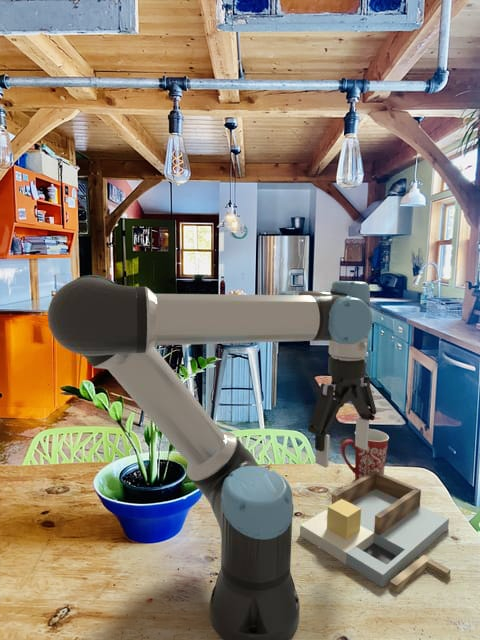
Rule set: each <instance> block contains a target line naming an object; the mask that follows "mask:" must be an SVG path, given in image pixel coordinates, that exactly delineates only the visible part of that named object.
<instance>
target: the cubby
mask: <svg viewBox="0 0 480 640" xmlns="http://www.w3.org/2000/svg"><path fill="white" fill-rule="evenodd" d="M374 489H377V490H380V491H382V492H384V493H386V494H389V495H391V496H393V497H395V498H398V499H399V500H397V501H396V502H394V503H393V504H391V505H390V506H388V507H387V508H385V509H384V510H382V511H381V512H379V513H378V514H376V515H375V526H374V533H375V534H377V535H381V534H382V533H383V532H385V531H386V530H387V529H389V528H390V527H391V526H393V525H394V524H396V523H397V522H398V521H400V520H401V519H402V518H404V517H405V516H406V515H408V514H409V513H411V512H412V511H413V510H415V509H416V508H417V507H419V506H421V497H422V496H421V495H422V489H420V488H418V487H415V486H413V485H410V484H408V483H405V482H404V481H401V480H398V479H395V478H393V477H391V476H388V475H386V474H385V473H384V474H381V473H379V472H377V471H373V472H371V473H369V474H367V475H366V476H364V477H362V478H360V479H358V480H354V481H353V482H351V483H349V484H347V485H346V486H343V487H342V488H339V490H337V491H334V492H332V493H331V505H332V504H333V503H335V502H337V501H339V500H340V499H343V500H345V501H347V502H349V503H352V502H354V501H355V500H357V499H359V498H360V497H362V496H364V495H365V494H367V493H369V492H370V491H372V490H374Z"/></svg>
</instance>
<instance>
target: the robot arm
mask: <svg viewBox="0 0 480 640" xmlns="http://www.w3.org/2000/svg"><path fill="white" fill-rule="evenodd" d="M370 290H371V288H370V285H369V284H368V283H367V282H365V281H356V280H355V281H353V280H352V281H349V280H348V281H347V280H345V281H344V280H343V281H342V280H337V281H336V280H335V281H333V282H332V283H331V288H330V290H326V291H316V290H315V291H314V290H287V291H286V290H285V291H284V290H283V291H281V292H279V293H278V294H216V293H215V294H213V293H212V294H210V293H207V294H204V293H202V294H201V293H154V292H153V291H152V290H151V289H150V288H148V287H147V286H130V285H129V286H128V285H122V284H117V283H115V282H114V281H113V280H111V279H109V278H107V277H104V276H102V275H94V274H89V275H83V276H79V277H77V278H75V279H73V280H71V281H69V282H68V283H66V284H64V285H63V286H62V287H60V288H59V289H57V291H56V292H55V294H54V295H53V296H52V299H51V301H50V304H49V306H48V309H47V310H48V311H47V321H48V327H49V330H50V333H51V335H52V336H53V338H54V339H55V340H56V342H57V343H59V344H60V346H62V347H63V348H65V349H66V350H68V351H70V352H71V353H73V354H76V355H77V354H78V355H82V356H83V357H84V358H85V359H86V360H87V361H88V363H89V364H91V366H92V367H93V368H94V369H105V370H108V372H109V373H110V374H111V375H112V377H114V379H115V380H116V381H117V382H118V384H119V385H121V387H122V388H123V389H124V391H126V393H127V394H128V395H129V396H130V398H132V400H133V401H134V402H135V403H136V405H137V406H138V407H139V408H140V409H141V410H142V412H143V413H144V414H145V415H146V417H148V418H149V419H150V421H151V422H152V423H153V424H154V426H156V428H157V429H158V430H159V432H161V434H162V435H163V436H164V438H165V439H167V441H168V442H169V443H170V444H171V445H172V446H173V448H174V449H175V450H176V451H177V452H178V454H179V455H180V456H181V457H182V458H183V459H184V461H185V462H186V463H187V466H186V475H187V477H188V479H190V481H191V482H192V483H193V484H194V485H195V486H196V488H197V489H198V490H199V491H200V493H201V494H202V495H203V496H204V497H205V498H206V500H207V502H208V503H209V504H210V507H211V509H212V511H213V514H214V517H215V519H216V522H217V524H218V527H219V529H220V537H221V539H220V543H221V544H220V550H221V551H220V552H221V553H220V569H219V572H218V574H217V578H216V581H215V585H214V586H213V589H212V591H211V594H210V598H209V599H210V600H209V601H210V603H209V617H210V621H211V624H212V626H213V628H214V630H215V632H216V633H217V634H218V635H219V636H220V637H221V638H222V639H223V640H289V639H291V637H292V636H293V635H294V634H295V633H296V631H297V629H298V625H299V621H300V605H301V604H300V599H299V598H300V597H299V595H298V593H297V590H296V586H295V583H294V579H293V575H292V573H291V563H292V562H291V558H292V537H293V536H292V535H293V534H292V533H293V517H294V502H293V492H292V488H291V486H290V484H289V482H288V481H287V479H286V478H285V477H284V476H283V475H282V474H280V473H279V472H277V471H276V470H272V471H271V470H270V469H269V468H268V467H265V466H260V465H259V464H258V462H257V460H256V458H255V457H254V455H253V454H252V453H251V452H250V451H249V450H248V449H247V448H246V447H245V445H244V444H243V443H242V442H241V440H239V438H238V437H237V436H236V435H235V433H233V432H230V431H222V430H221V428H219V426H218V424H217V423H216V422H215V421H214V420H213V419H212V417H211V416H210V415H209V413H208V412H207V411H206V409H204V407H203V406H202V405H201V403H200V402H199V401H198V400H197V398H196V397H195V396H194V395H193V394H192V393H191V391H190V390H189V388H188V387H187V386H186V385H185V383H184V382H183V381H182V380H181V378H180V377H179V376H178V374H177V373H176V372H175V370H173V369H172V367H171V366H170V365H169V364H168V362H167V361H166V360H165V358H164V357H163V356H162V355H161V353H160V352H159V351H158V350H157V349H156V346H175V345H176V346H178V345H179V346H180V345H181V346H182V345H183V346H184V345H207V344H209V345H212V344H244V343H245V344H246V343H247V344H248V343H250V344H251V343H274V342H275V343H277V342H278V343H279V342H304V341H305V342H306V341H307V342H324V341H325V342H327V341H328V342H329V343H328V354H329V355H330V356H329V357H328V365H327V366H328V367H327V373H328V374H329V375H330V377H331V382H330V384H327V383H321V384H320V386H319V395H318V398H317V400H316V402H315V403H316V404H315V406H314V410H313V411H312V412H313V413H312V415H311V418H310V422H309V424H308V427H307V432H309V433H311V434H314V435H315V436H314V438H315V439H314V448H315V461H314V463H315V464H317V465H318V466H321V467H324V468H329V464H330V463H329V462H330V461H329V460H330V459H329V457H330V437H331V436H330V434H328V432H329V431H330V428H331V427H332V424H333V422H334V421H335V419H336V417H337V415H338V412H339V410H340V409H341V408H343V407H344V406H345V404H347V403H349V402H351V404H352V405H353V408H354V409H355V411H356V413H357V414H358V416H359V417H358V416H357V417H356V420H355V431H356V437H355V439H354V441H355V446H356V447H359V448H362V449H364V450H367V449H368V432H369V429H370V421H374V420H375V418H376V417H375V415H376V414H377V408H376V405H375V400H374V396H373V392H372V389H371V376H368V375H366V374H367V360H366V357H367V355H368V354H367V352H368V351H367V349H368V337H369V334H370V331H371V330H372V326H373V313H372V310H371V307H370V306H371V291H370Z"/></svg>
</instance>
